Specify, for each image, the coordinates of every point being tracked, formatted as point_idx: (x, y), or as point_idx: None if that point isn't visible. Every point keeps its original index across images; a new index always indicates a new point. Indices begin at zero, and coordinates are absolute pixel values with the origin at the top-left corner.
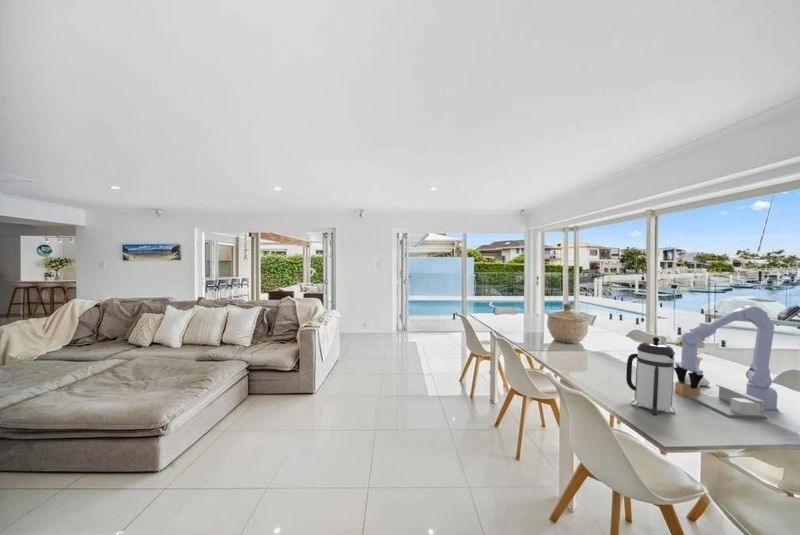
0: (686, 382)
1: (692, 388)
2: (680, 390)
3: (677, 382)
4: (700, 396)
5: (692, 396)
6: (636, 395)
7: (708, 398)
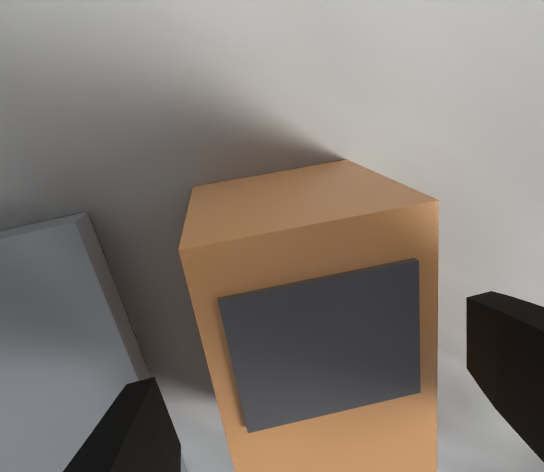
0: (418, 410)
1: (123, 390)
2: (228, 193)
3: (371, 213)
4: (108, 396)
5: (30, 283)
6: None
7: (55, 458)
